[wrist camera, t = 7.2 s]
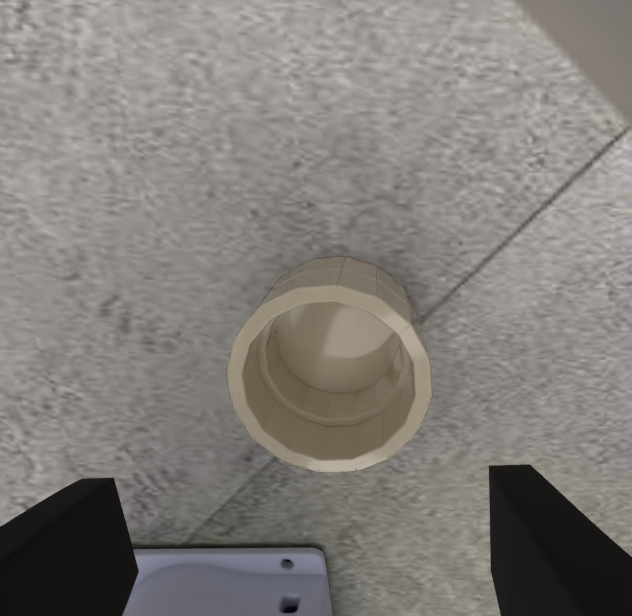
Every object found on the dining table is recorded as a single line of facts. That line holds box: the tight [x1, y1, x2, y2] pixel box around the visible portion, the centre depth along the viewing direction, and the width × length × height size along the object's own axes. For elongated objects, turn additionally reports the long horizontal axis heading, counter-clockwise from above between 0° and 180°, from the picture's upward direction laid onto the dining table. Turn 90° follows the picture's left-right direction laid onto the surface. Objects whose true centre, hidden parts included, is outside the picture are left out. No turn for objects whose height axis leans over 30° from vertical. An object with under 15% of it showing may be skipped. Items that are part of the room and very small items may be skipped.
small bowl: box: [227, 257, 432, 473], centre depth 15 cm, size 6×6×4 cm
